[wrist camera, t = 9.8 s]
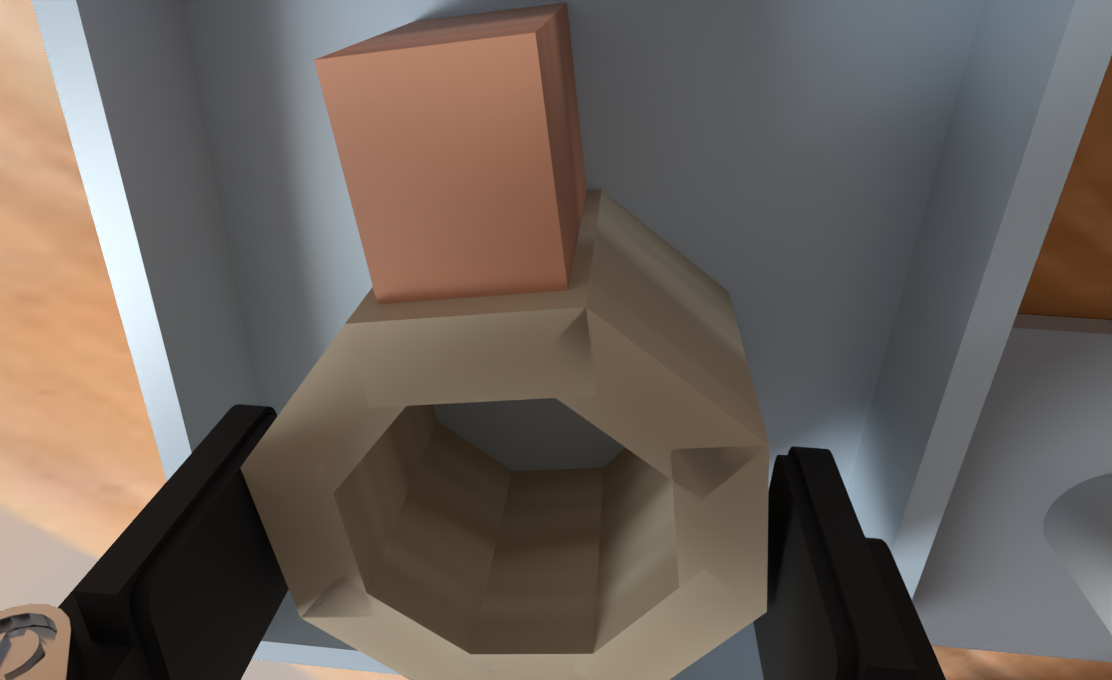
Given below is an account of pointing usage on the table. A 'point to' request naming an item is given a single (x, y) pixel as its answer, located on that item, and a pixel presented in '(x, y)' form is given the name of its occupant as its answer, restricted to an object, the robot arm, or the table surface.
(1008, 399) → the stake
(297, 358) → the tray
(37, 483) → the table surface
